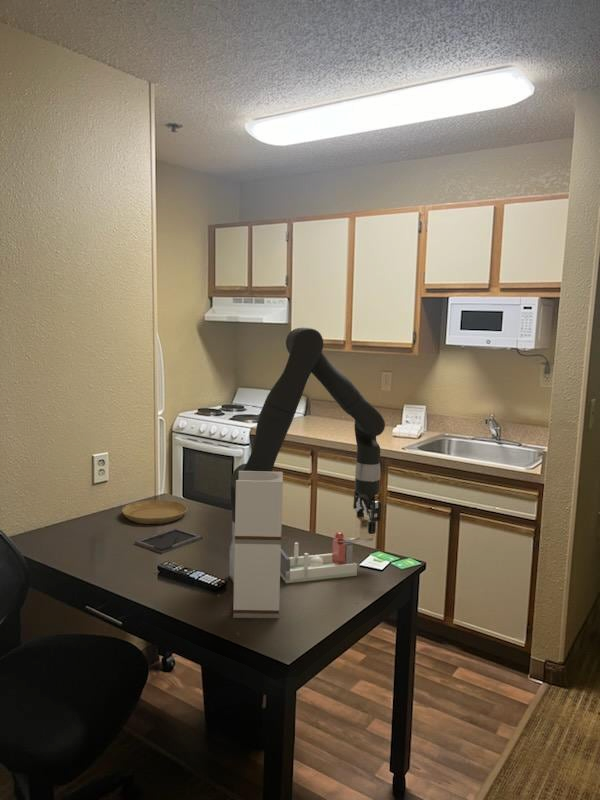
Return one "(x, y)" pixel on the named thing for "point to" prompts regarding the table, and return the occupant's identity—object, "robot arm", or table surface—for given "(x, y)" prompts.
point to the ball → (316, 561)
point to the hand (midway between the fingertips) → (365, 528)
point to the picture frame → (168, 540)
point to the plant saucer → (154, 511)
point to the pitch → (302, 571)
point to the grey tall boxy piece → (257, 544)
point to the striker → (350, 540)
